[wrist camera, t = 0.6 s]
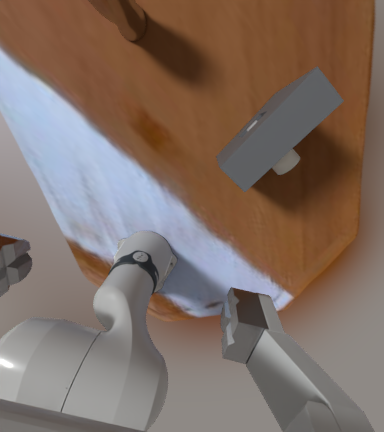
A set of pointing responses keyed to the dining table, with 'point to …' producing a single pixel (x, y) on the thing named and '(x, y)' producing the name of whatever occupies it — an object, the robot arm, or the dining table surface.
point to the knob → (283, 159)
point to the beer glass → (123, 16)
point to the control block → (278, 128)
